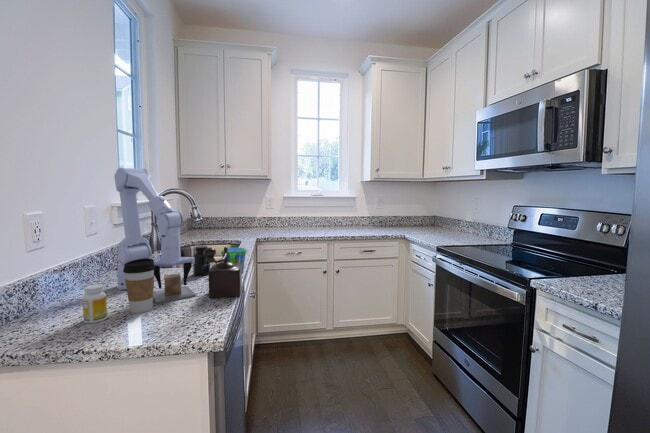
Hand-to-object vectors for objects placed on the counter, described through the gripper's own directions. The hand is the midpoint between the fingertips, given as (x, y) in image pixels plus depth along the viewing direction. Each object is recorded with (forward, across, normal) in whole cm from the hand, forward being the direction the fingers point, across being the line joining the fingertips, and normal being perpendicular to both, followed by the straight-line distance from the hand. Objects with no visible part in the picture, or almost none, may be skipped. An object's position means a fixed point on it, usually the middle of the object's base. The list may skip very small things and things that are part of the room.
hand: (172, 286), depth 109 cm
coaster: (+3, 0, 0) cm, 3 cm away
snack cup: (+3, +25, +21) cm, 33 cm away
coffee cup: (+3, -9, -10) cm, 14 cm away
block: (+2, 0, 0) cm, 3 cm away
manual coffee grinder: (+3, +16, -8) cm, 18 cm away
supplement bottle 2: (+3, +12, +24) cm, 27 cm away
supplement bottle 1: (+3, -20, -13) cm, 24 cm away
